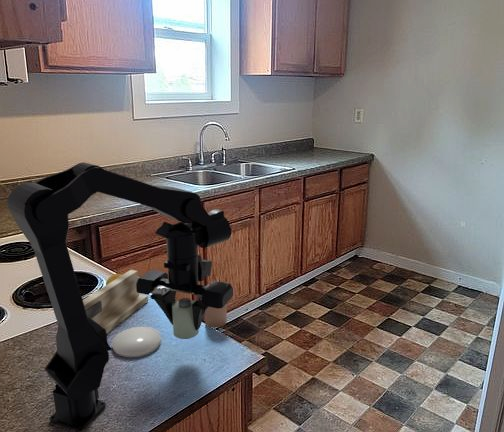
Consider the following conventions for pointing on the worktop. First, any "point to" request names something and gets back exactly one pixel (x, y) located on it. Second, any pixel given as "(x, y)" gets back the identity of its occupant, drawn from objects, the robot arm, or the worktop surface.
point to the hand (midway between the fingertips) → (185, 326)
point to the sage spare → (183, 319)
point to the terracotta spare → (216, 316)
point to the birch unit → (115, 301)
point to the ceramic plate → (136, 342)
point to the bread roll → (114, 278)
